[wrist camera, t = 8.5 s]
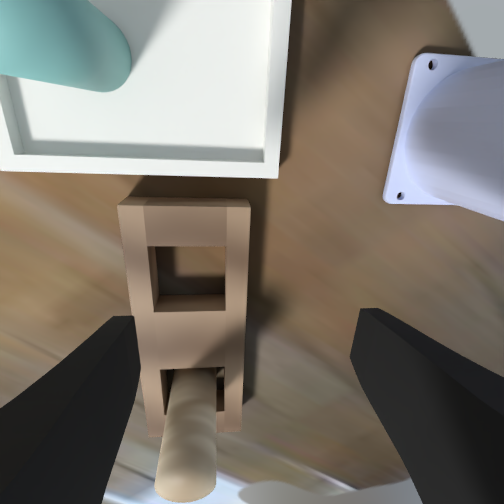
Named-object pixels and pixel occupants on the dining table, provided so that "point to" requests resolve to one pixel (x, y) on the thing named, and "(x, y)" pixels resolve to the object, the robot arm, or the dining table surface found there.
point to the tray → (164, 97)
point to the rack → (187, 299)
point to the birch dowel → (189, 437)
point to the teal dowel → (63, 44)
